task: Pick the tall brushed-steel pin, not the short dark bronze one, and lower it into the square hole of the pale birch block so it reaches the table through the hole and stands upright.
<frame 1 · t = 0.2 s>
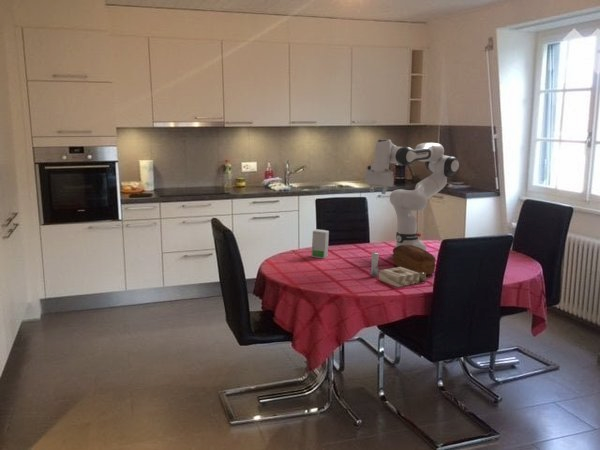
hand: (377, 193, 322), 39 cm above the table, tool pointing down, fingers open, 8 cm apart
skincare box: (319, 256, 338), on the table
tall steel pin: (374, 275, 299), on the table
bread: (412, 270, 312), on the table
short bronze pin: (421, 281, 290), on the table
birch block: (398, 281, 289), on the table
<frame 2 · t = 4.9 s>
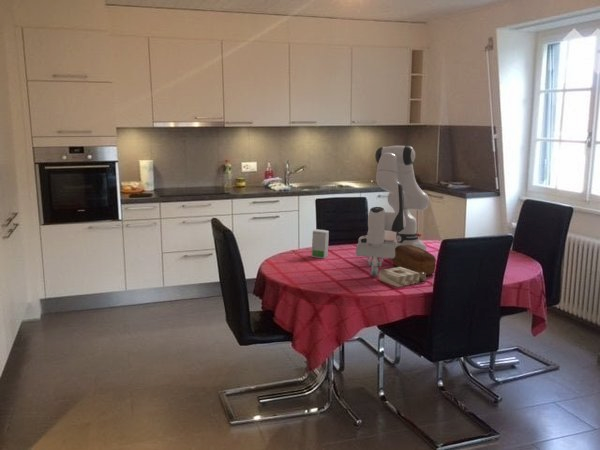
hand: (374, 265, 298), 6 cm above the table, tool pointing down, fingers closed on tall steel pin, 4 cm apart
tall steel pin: (374, 275, 299), on the table, touching gripper
everything else where it was.
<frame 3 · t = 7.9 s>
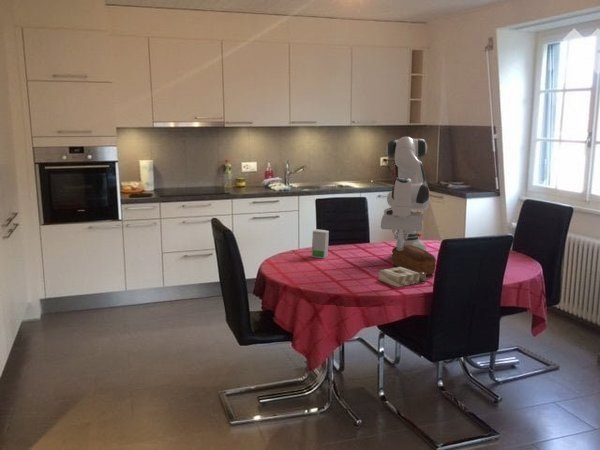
hand: (400, 238, 285), 22 cm above the table, tool pointing down, fingers closed on tall steel pin, 4 cm apart
tall steel pin: (400, 249, 286), point 16 cm above the table, touching gripper
everything else where it was.
when the fingers open (7 cm above the table, at t = 11.2 s): tall steel pin drops 1 cm, resting in birch block.
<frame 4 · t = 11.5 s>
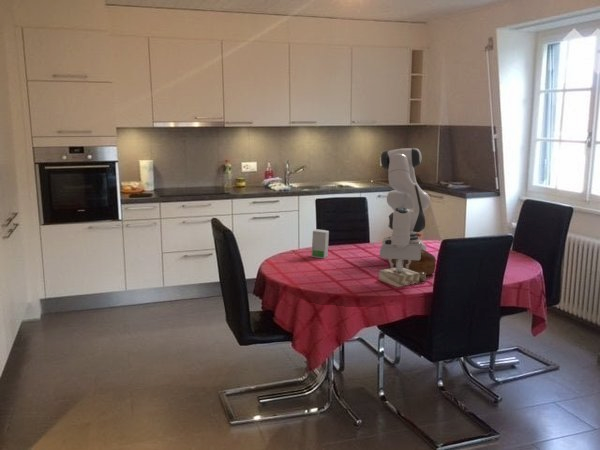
hand: (399, 267, 288), 7 cm above the table, tool pointing down, fingers open, 6 cm apart
tall steel pin: (398, 281, 289), resting in birch block
everything else where it was.
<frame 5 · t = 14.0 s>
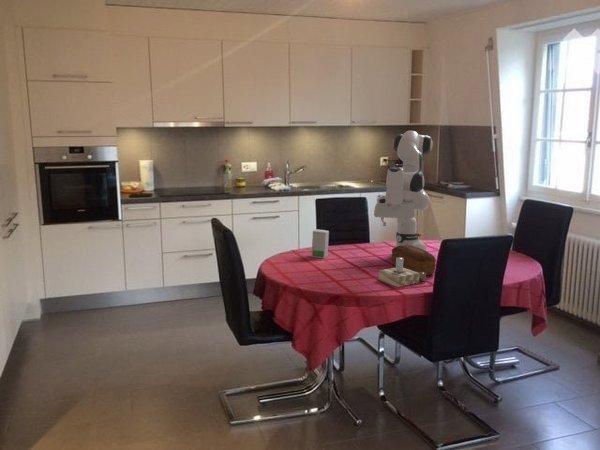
hand: (393, 226, 293), 26 cm above the table, tool pointing down, fingers open, 8 cm apart
nothing on the table moved.
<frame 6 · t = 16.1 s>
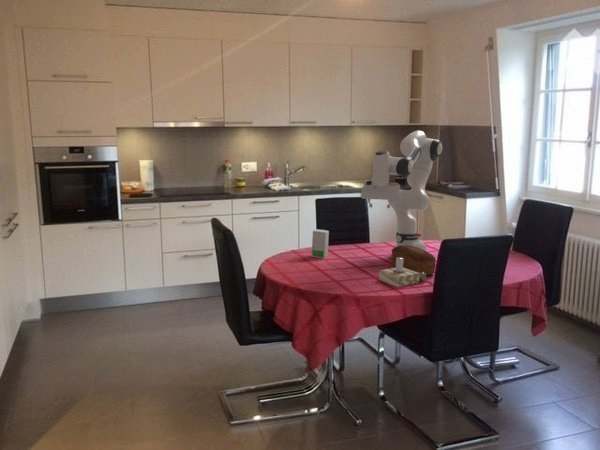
hand: (379, 207, 309), 33 cm above the table, tool pointing down, fingers open, 8 cm apart
nothing on the table moved.
at the end: tall steel pin 0.0 cm off-centre on the birch block, point 0.0 cm above the birch block's base; tall steel pin tilted 0°; short bronze pin moved 0.1 cm from its start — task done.
